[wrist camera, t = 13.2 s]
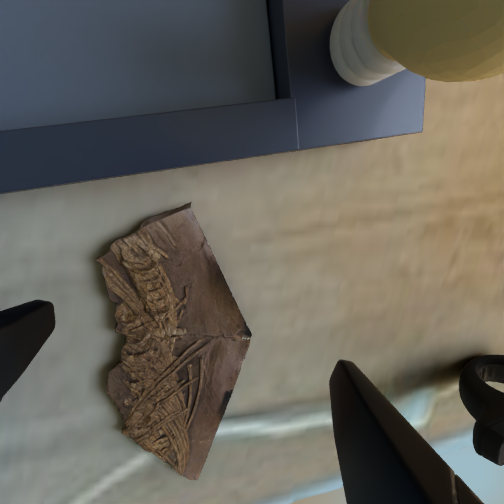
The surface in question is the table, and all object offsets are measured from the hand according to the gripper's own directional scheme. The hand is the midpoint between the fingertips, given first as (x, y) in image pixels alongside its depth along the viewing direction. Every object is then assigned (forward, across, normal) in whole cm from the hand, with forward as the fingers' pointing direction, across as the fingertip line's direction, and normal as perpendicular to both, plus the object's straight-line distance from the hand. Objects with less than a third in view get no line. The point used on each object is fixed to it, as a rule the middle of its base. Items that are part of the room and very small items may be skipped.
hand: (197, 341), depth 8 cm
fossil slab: (+10, +2, +12) cm, 16 cm away
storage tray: (+12, +6, -7) cm, 15 cm away
